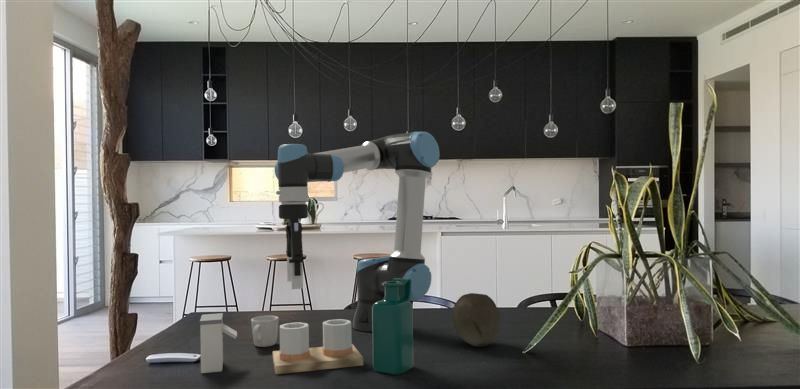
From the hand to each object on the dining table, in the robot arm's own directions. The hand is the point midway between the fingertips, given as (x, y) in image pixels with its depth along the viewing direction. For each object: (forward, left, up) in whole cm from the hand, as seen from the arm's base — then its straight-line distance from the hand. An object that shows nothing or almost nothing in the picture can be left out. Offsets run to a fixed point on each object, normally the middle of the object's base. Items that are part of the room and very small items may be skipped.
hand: (294, 284), depth 143 cm
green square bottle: (-23, +12, -21) cm, 34 cm away
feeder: (+19, -4, -21) cm, 28 cm away
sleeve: (0, 0, -19) cm, 19 cm away
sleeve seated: (-11, 0, -19) cm, 22 cm away
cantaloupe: (-51, -1, -21) cm, 56 cm away
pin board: (-5, 0, -21) cm, 21 cm away
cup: (+8, -21, -21) cm, 30 cm away
